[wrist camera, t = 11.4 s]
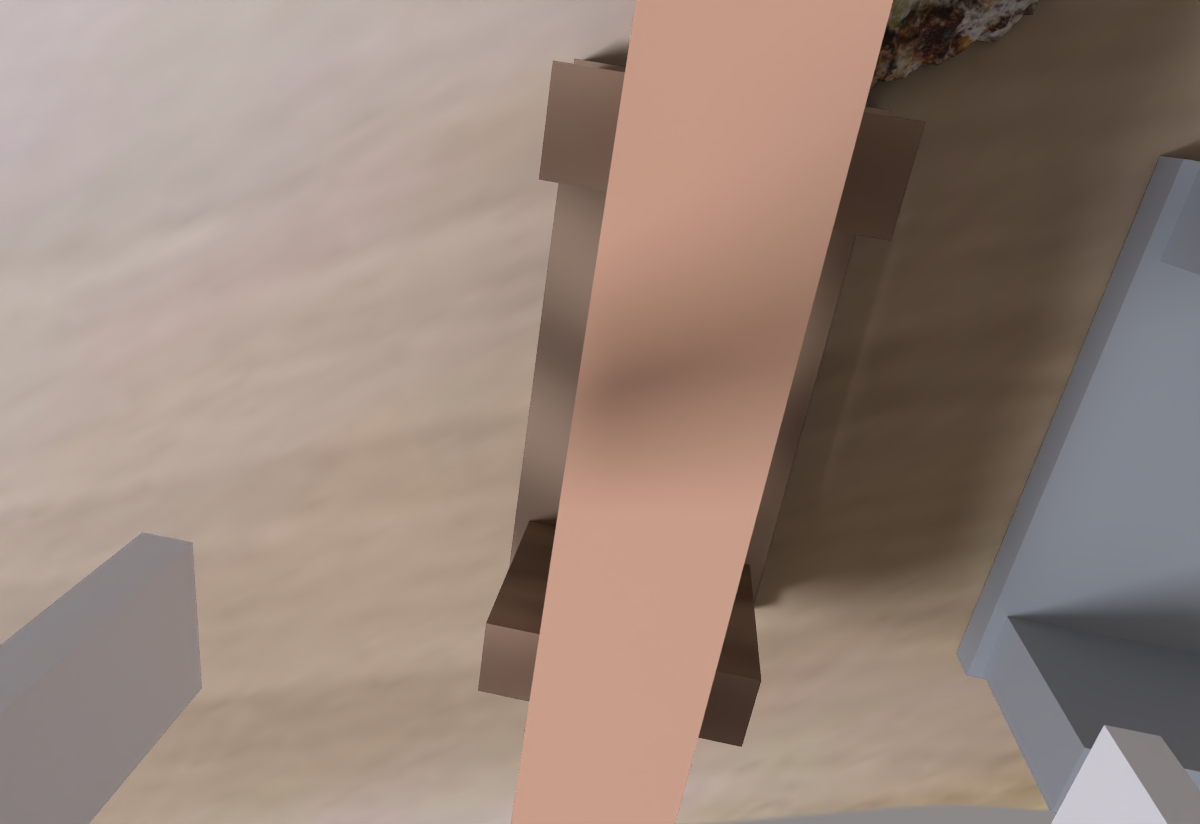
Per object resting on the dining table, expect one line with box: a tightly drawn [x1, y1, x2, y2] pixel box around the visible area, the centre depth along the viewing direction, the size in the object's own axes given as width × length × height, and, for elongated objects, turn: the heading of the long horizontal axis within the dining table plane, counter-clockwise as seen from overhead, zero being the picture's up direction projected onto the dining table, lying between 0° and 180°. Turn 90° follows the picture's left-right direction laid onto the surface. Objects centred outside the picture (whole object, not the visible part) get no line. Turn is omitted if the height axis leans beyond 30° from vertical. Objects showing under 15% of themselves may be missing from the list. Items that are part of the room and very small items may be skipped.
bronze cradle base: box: [478, 59, 925, 747], centre depth 23 cm, size 18×9×7 cm, turn 171°
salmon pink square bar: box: [511, 0, 893, 824], centre depth 18 cm, size 22×4×4 cm, turn 171°
